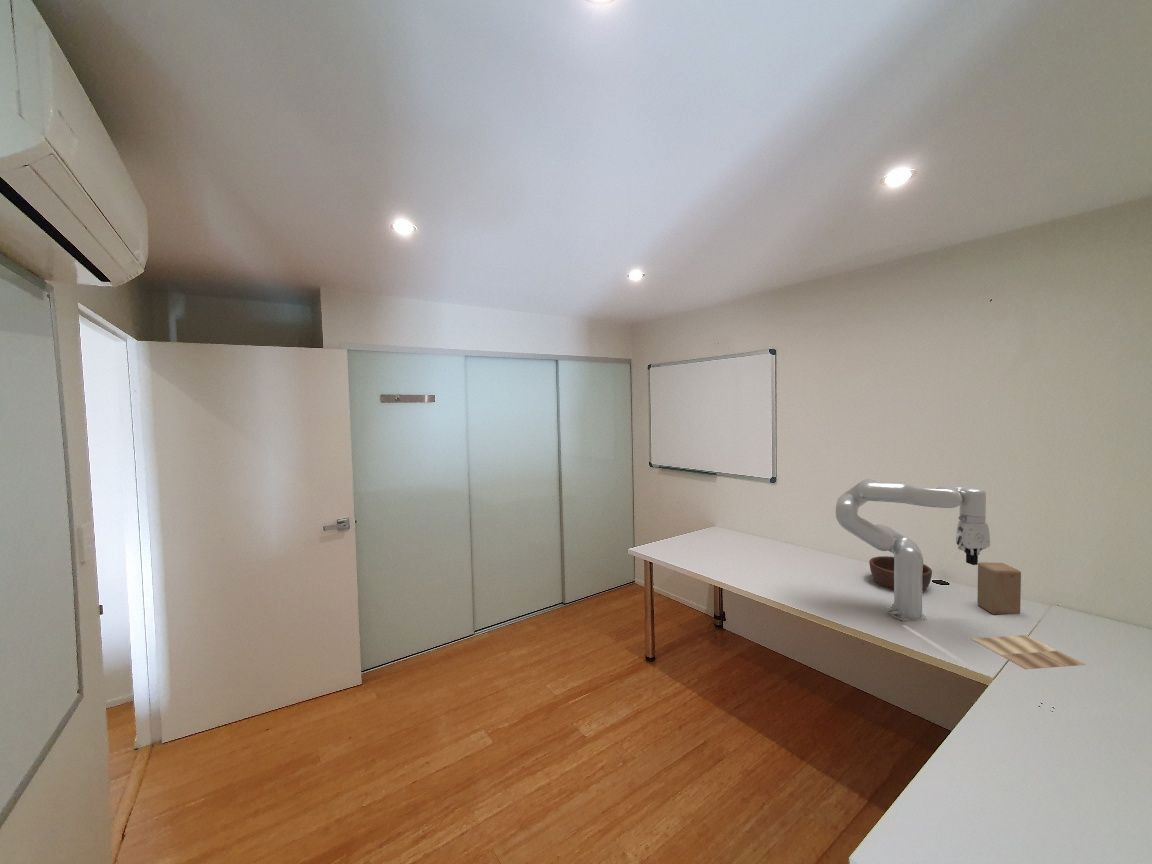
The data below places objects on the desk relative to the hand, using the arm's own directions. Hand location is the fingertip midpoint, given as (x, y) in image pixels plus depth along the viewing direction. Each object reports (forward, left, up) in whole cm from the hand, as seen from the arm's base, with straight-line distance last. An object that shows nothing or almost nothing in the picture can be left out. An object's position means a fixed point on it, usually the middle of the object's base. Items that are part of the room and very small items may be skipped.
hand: (971, 563), depth 166 cm
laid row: (+2, -23, -27) cm, 36 cm away
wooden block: (+25, +12, -27) cm, 39 cm away
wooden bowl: (+6, +42, -28) cm, 51 cm away
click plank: (+2, -14, -27) cm, 30 cm away
